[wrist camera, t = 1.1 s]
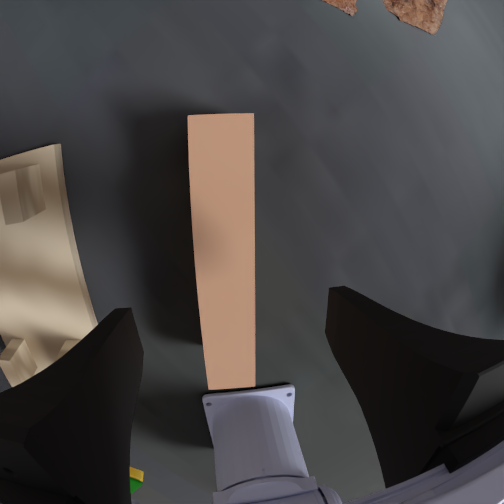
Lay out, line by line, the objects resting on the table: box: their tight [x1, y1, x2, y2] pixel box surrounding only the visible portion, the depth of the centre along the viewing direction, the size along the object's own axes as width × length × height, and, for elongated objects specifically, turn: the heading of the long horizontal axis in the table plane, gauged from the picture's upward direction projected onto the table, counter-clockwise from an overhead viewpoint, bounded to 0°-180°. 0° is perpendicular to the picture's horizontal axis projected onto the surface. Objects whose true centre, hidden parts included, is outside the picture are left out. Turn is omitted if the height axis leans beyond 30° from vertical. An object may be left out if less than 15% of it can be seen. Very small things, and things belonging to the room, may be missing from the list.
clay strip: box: [188, 113, 255, 390], centre depth 18 cm, size 16×3×5 cm, turn 0°
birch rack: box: [0, 144, 98, 387], centre depth 17 cm, size 18×10×4 cm, turn 3°
